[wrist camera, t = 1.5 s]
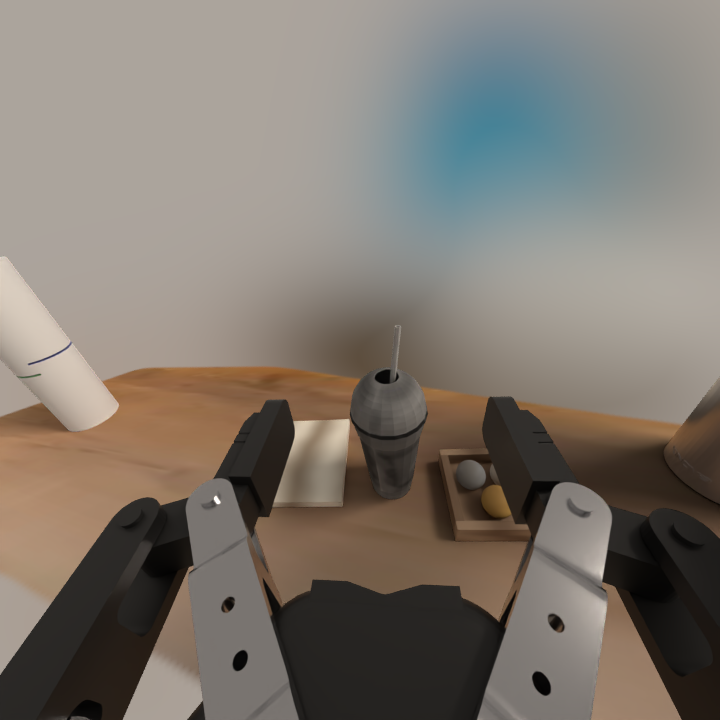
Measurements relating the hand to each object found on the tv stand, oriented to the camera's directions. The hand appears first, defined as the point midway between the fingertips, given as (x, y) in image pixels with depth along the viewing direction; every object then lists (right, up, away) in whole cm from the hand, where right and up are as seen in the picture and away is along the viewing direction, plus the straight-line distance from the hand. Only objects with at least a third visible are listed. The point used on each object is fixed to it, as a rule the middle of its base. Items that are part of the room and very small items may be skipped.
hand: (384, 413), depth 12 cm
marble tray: (+13, -12, +20) cm, 27 cm away
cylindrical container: (-46, -7, +37) cm, 59 cm away
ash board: (-7, -11, +25) cm, 28 cm away
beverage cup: (+3, -12, +22) cm, 25 cm away
